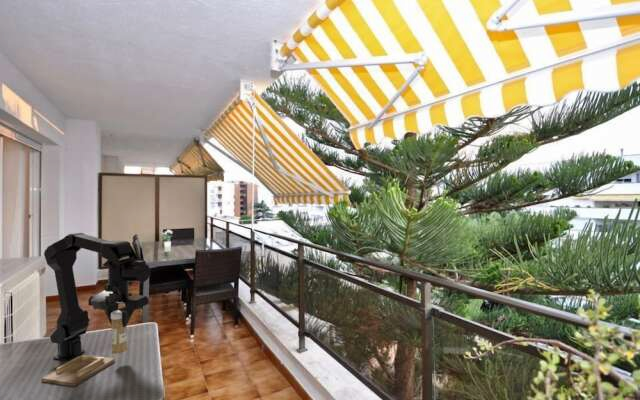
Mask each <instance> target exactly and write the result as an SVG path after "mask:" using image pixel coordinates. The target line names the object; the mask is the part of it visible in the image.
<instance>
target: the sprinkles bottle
mask: <svg viewBox="0 0 640 400" xmlns="http://www.w3.org/2000/svg"><path fill="white" fill-rule="evenodd" d="M111 320H112V321H111V323H112V325H111V330H110V331H111V338H110V340H111V353H112V354H113V355H118V354H122V353H124V352H126V351H127V350H128V347H127V346H128V343H127V340H128V337H127V336H128V331H127V330H128V326H125V327H123V324H122V312H121V311H119V309H118V310H116V311H113V312H112V313H111ZM111 323H110V324H111Z"/></svg>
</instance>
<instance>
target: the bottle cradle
mask: <svg viewBox="0 0 640 400" xmlns="http://www.w3.org/2000/svg"><path fill="white" fill-rule="evenodd" d="M114 362H115V358H113V357H106V356H97V355H91V354H79V355H77V356H76V357H74V358H72V359H70V360H68V361H67V362H65V363H63V364H62V365H60V366H58V367H56V368H55V370H54V371H52V372H51V373H49V374H47V375H45V376H43V377H42V378H41V382H44V383H50V384H55V385H63V386H68V387H76V386H77V385H79V384H81V383H82V382H83V381H86V380H87V379H89V378H90V377H92V376H93V375H95V374H96V373H98V372H99V371H101V370H103V369H104V368H106V367H108V366H110V365H111V364H113V363H114Z"/></svg>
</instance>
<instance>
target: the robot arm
mask: <svg viewBox="0 0 640 400" xmlns="http://www.w3.org/2000/svg"><path fill="white" fill-rule="evenodd" d="M81 249H85V250H88V251H91V252H94V253H97V254H99V255H100V257H101V258H103V259H105V260H106V261H105V262H104V263H103V264H102V266H103V267H108V268H107V269H108V270H107V271H108V272H107V276H108V277H107V279H108V281H107V282H108V283H106V284H105V285H104V288H103V290H102V291H101V292H99V293H96V294H93V295H91V296H90V297H89V299H88V306H92V308H93V310H101V311H104V313H105V314H106V317H107V319H108V321H109V323H110V325H111V326H112V323H111V321H112V320H111V313H112V312H113V311H116V310H119V311H121V312H122V324H123V327H125V326H127V325H128V323H129V321H130V320H131V317H132V315H133V313H134V312H135V310H138V309H141V308H143V307H145V306H147V305H149V303H150V302H149V301H150V300H149V296H147V295H140V294H138V295H135V296H133V297H132V295H133V294H132V293H133V292H130V288H129V287H130V285H132V282H136V283H146V281H147V280H149V279H150V278H149V277H150V276H151V271H152V269H150V266H149V265H148V264H146V263H147V262H146V260H140V258H139V257H138V254H137V252H136V251H135V249H134V248H133V246H132V245H131V242H129V241H127V240H107V239H103V238H99V237H96V236H92V235H88V234H85V233H84V232H83V233H82V232H76V233H69V234H67V235H66V236H64V237H63V238H61V239H60V240H58V241H55V242H54V243H52V244H50V245H48V246H47V247H46V249H44V252H43V256H44V259H45V262H46V265H47V266H48V267H49V268H51V269H52V270H53V272H54V277H55V281H56V289H57V294H58V300H59V306H60V314H59V316H58V318H57V320H56V329H55V330H54V331H53V333H52V334H51V335H50V336H49V338H50V342H51V343H52V344H57V354H56V355H55V356H53V357H52V358H53V360H54V359H55V360H60V361H71V360H73V359H75V358H77V357H78V356H80V355H82V354H83V353H85V352H86V350H85V349H82V341H81V340H82V339H81V336H83V335H86V334H87V329H88V327H89V325H90V324H89V323H90V321H91V320H90V319H89V312H88V310H87V309H86V310H84V309H82V308H81V307H80V304H79V297H78V291H77V287H76V286H77V285H76V280H75V274H74V266H75V265H74V264H75V263H76V260H77V253H79V252H80V251H81ZM120 304H121V305H122V304H123V307H120V308H119V306H120ZM127 327H128V326H127Z"/></svg>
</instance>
